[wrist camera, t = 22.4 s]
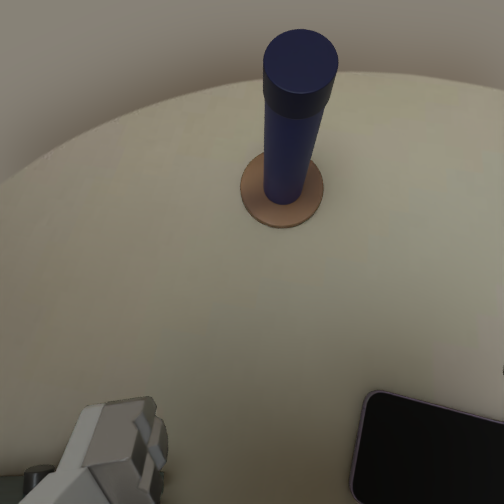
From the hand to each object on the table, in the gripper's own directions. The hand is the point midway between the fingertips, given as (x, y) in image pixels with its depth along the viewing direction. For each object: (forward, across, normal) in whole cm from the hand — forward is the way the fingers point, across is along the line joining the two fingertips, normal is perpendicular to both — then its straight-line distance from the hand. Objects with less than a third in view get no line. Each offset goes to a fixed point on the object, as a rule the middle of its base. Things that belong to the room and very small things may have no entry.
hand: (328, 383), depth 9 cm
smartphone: (+10, -9, +20) cm, 24 cm away
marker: (+23, -1, +3) cm, 23 cm away
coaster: (+23, -1, +3) cm, 23 cm away
